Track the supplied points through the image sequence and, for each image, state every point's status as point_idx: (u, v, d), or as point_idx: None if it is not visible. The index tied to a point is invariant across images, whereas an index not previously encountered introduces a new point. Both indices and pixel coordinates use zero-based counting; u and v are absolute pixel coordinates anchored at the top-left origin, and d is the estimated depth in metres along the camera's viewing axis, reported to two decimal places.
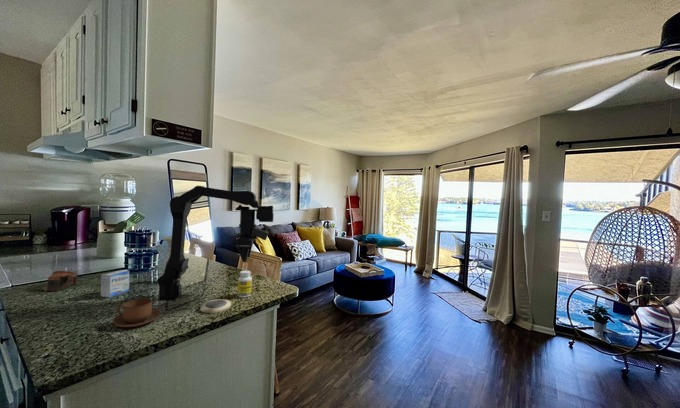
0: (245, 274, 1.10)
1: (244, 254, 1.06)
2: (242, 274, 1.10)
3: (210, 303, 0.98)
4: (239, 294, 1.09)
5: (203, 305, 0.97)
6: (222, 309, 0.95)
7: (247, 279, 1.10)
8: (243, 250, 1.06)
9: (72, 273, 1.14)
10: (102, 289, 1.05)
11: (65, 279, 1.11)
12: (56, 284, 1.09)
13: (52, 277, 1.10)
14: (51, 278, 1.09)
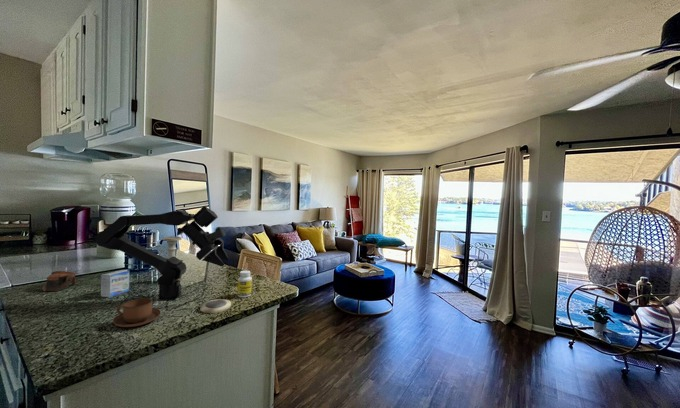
0: (245, 274, 1.10)
1: (216, 260, 1.04)
2: (242, 274, 1.10)
3: (210, 303, 0.98)
4: (239, 294, 1.09)
5: (203, 305, 0.97)
6: (222, 309, 0.95)
7: (247, 279, 1.10)
8: (212, 258, 1.04)
9: (71, 273, 1.14)
10: (102, 289, 1.05)
11: (64, 279, 1.11)
12: (55, 284, 1.09)
13: (51, 277, 1.09)
14: (50, 278, 1.09)
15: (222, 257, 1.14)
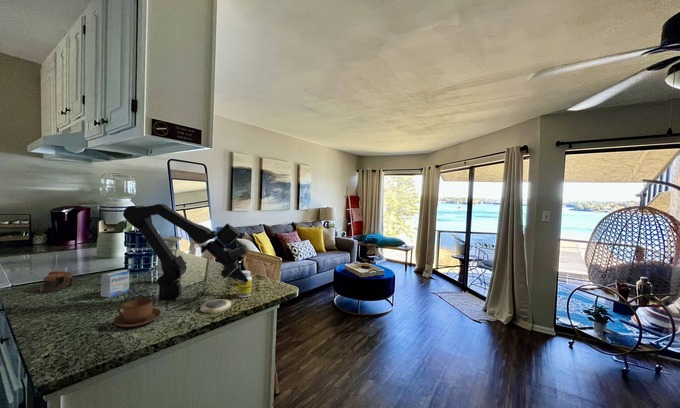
0: (245, 274, 1.10)
1: (241, 276, 1.07)
2: None
3: (210, 303, 0.98)
4: (239, 294, 1.09)
5: (203, 305, 0.97)
6: (222, 309, 0.95)
7: None
8: (237, 274, 1.07)
9: (68, 274, 1.14)
10: (102, 289, 1.05)
11: (61, 280, 1.10)
12: (52, 285, 1.08)
13: (48, 278, 1.09)
14: (47, 279, 1.08)
15: None
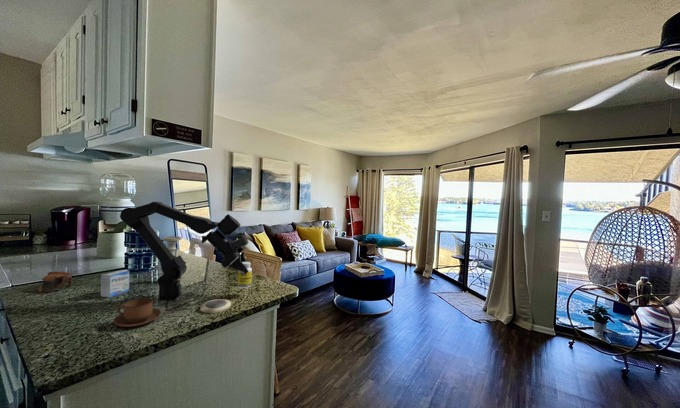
0: (245, 265, 1.10)
1: (241, 267, 1.07)
2: None
3: (210, 303, 0.98)
4: (239, 285, 1.09)
5: (203, 305, 0.97)
6: (222, 309, 0.95)
7: None
8: (237, 265, 1.07)
9: (67, 274, 1.13)
10: (102, 289, 1.05)
11: (60, 280, 1.10)
12: (51, 285, 1.08)
13: (47, 278, 1.08)
14: (46, 279, 1.08)
15: None
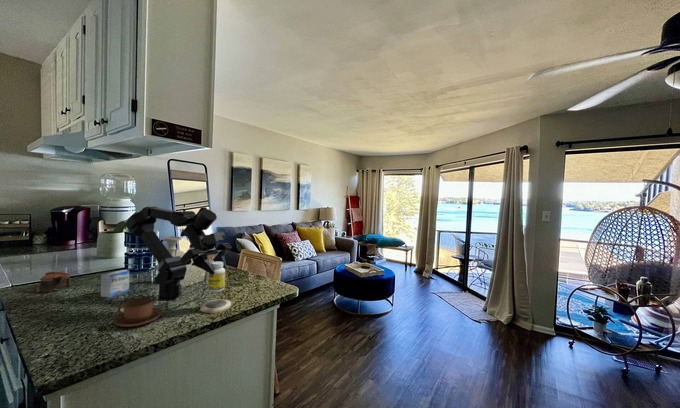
0: (214, 265, 0.96)
1: (206, 266, 0.95)
2: (211, 265, 0.97)
3: (210, 303, 0.98)
4: (208, 287, 0.97)
5: (203, 305, 0.97)
6: (222, 309, 0.95)
7: (215, 271, 0.96)
8: (203, 263, 0.95)
9: (65, 274, 1.13)
10: (102, 289, 1.05)
11: (58, 280, 1.09)
12: (49, 285, 1.07)
13: (44, 278, 1.08)
14: (43, 279, 1.08)
15: None
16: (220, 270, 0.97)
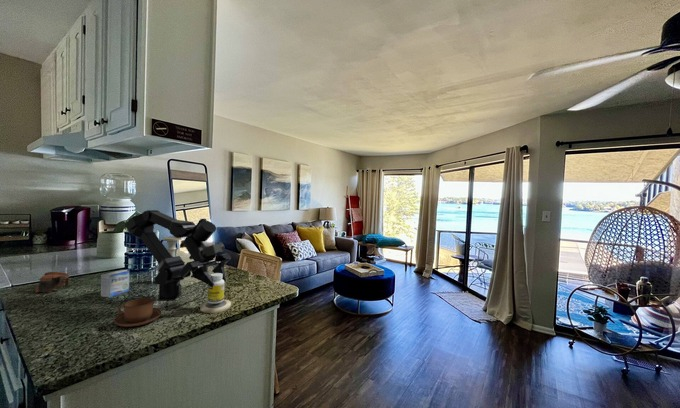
0: (213, 277, 0.96)
1: (205, 278, 0.95)
2: (211, 277, 0.97)
3: (210, 303, 0.98)
4: None
5: (203, 305, 0.97)
6: (222, 309, 0.95)
7: (214, 283, 0.96)
8: (202, 275, 0.95)
9: (64, 274, 1.13)
10: (102, 289, 1.05)
11: (57, 280, 1.09)
12: (48, 286, 1.07)
13: (43, 278, 1.08)
14: (42, 279, 1.07)
15: None
16: (219, 282, 0.97)
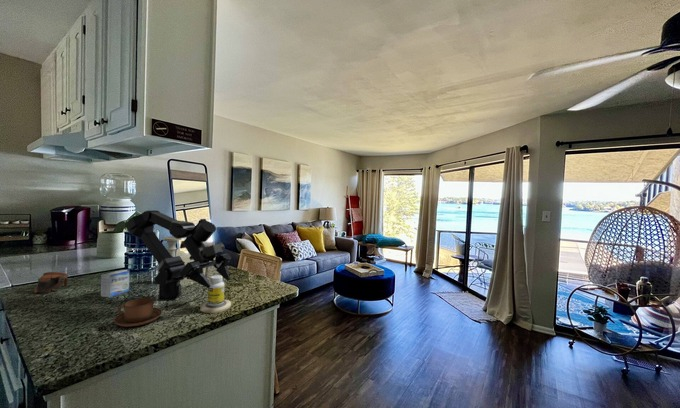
0: (213, 280, 0.96)
1: (201, 280, 0.93)
2: (211, 279, 0.97)
3: None
4: None
5: (203, 305, 0.97)
6: (222, 309, 0.95)
7: (214, 286, 0.96)
8: (198, 277, 0.94)
9: (63, 274, 1.12)
10: (102, 289, 1.05)
11: (56, 280, 1.09)
12: (46, 286, 1.07)
13: (42, 278, 1.07)
14: (41, 279, 1.07)
15: (224, 275, 1.03)
16: (219, 284, 0.97)
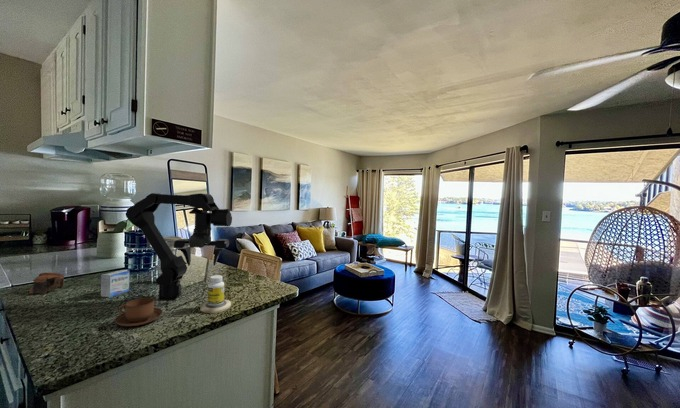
0: (213, 280, 0.96)
1: None
2: (210, 279, 0.97)
3: None
4: None
5: (203, 305, 0.97)
6: (222, 309, 0.95)
7: (214, 286, 0.96)
8: None
9: (59, 275, 1.11)
10: (102, 289, 1.05)
11: (52, 281, 1.08)
12: (42, 286, 1.06)
13: (38, 279, 1.06)
14: (37, 280, 1.06)
15: None
16: (219, 284, 0.97)
